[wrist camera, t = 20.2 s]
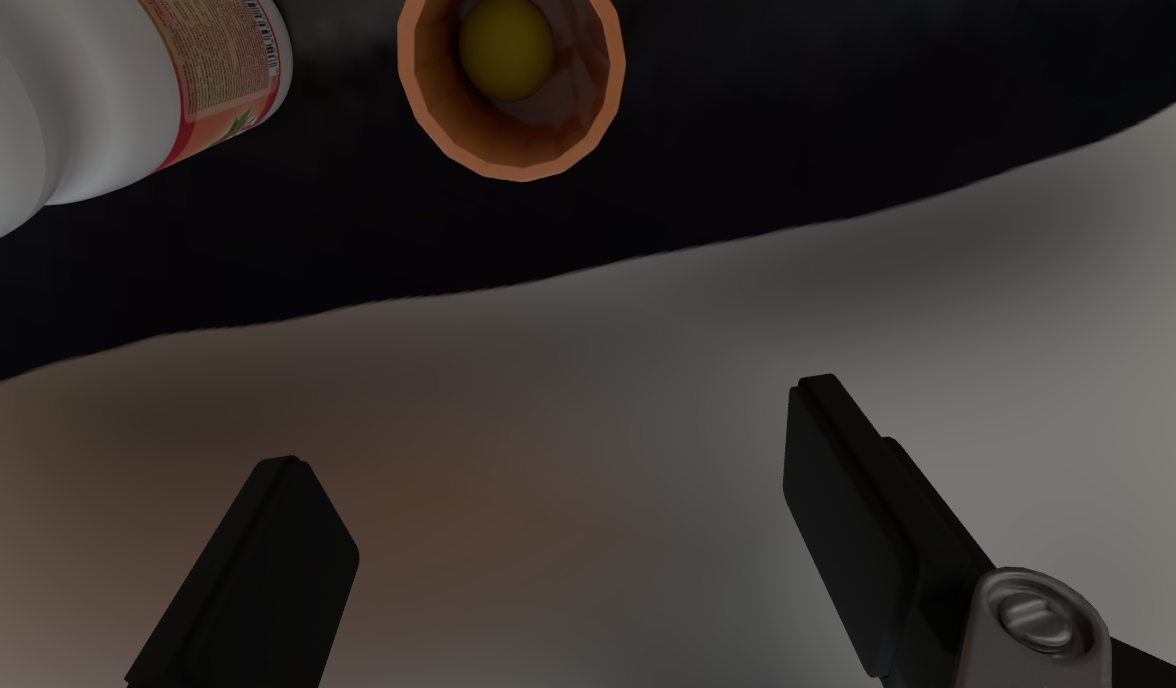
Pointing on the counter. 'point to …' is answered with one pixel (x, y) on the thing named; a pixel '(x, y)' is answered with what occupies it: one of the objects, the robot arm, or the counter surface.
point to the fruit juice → (127, 90)
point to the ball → (506, 48)
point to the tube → (521, 128)
